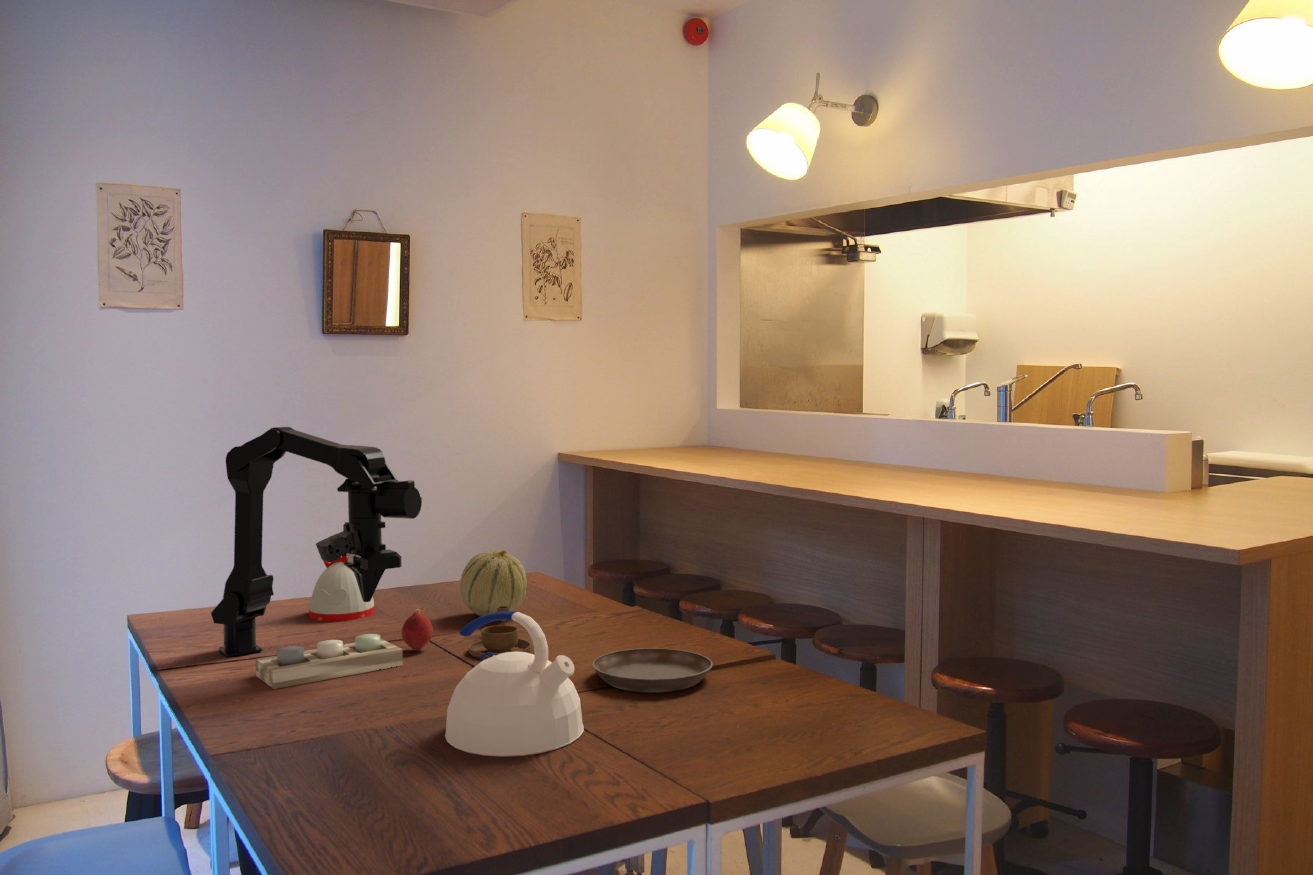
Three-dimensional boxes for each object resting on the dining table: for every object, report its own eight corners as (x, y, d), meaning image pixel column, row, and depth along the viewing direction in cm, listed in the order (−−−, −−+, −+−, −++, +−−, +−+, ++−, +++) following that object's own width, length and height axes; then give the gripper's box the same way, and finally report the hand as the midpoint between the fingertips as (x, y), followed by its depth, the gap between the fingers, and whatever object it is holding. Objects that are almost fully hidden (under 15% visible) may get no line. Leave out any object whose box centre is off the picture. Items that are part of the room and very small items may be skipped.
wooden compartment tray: (256, 675, 181) (255, 658, 181) (381, 653, 195) (380, 638, 195) (273, 688, 173) (273, 671, 173) (402, 665, 187) (402, 649, 187)
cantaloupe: (472, 608, 233) (471, 543, 233) (535, 610, 231) (534, 544, 230) (450, 624, 219) (448, 554, 218) (517, 625, 217) (516, 555, 216)
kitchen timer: (363, 621, 222) (362, 552, 221) (300, 621, 222) (298, 553, 221) (381, 607, 236) (380, 542, 235) (322, 607, 236) (320, 542, 235)
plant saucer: (639, 658, 192) (639, 640, 192) (734, 675, 180) (734, 657, 180) (568, 684, 175) (567, 665, 175) (667, 706, 163) (667, 686, 163)
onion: (425, 655, 194) (424, 613, 193) (397, 653, 195) (396, 612, 194) (437, 647, 199) (437, 606, 199) (410, 646, 201) (409, 605, 200)
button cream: (313, 655, 184) (313, 642, 184) (337, 651, 187) (337, 638, 187) (322, 660, 181) (321, 647, 181) (346, 656, 183) (346, 643, 183)
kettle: (526, 768, 137) (524, 635, 136) (414, 741, 148) (411, 616, 147) (612, 725, 154) (611, 606, 153) (506, 703, 165) (504, 591, 164)
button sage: (351, 649, 188) (351, 636, 188) (374, 645, 191) (374, 632, 191) (360, 654, 185) (360, 641, 185) (384, 650, 188) (384, 637, 187)
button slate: (273, 662, 180) (273, 648, 180) (299, 658, 183) (298, 644, 182) (281, 667, 176) (281, 653, 176) (307, 663, 179) (307, 649, 179)
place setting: (442, 657, 194) (441, 626, 194) (498, 633, 212) (498, 605, 212) (522, 666, 187) (522, 634, 187) (574, 641, 206) (573, 612, 205)
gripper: (303, 515, 189) (305, 599, 190) (339, 526, 174) (341, 617, 175) (361, 510, 196) (363, 591, 197) (401, 520, 181) (403, 608, 182)
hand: (366, 601), depth 188 cm, fingers closed
